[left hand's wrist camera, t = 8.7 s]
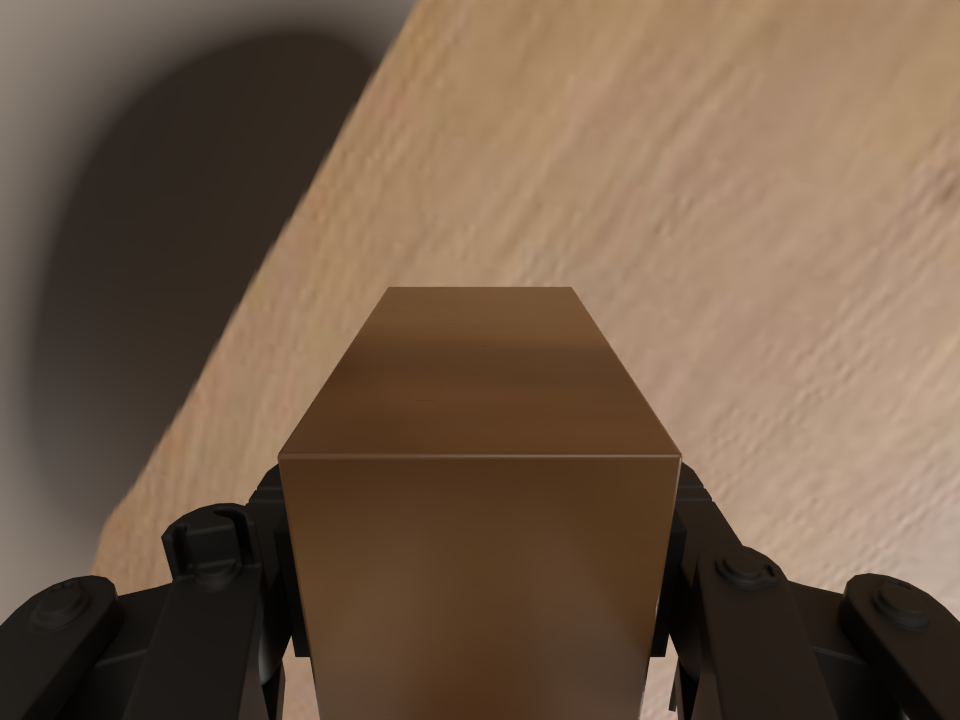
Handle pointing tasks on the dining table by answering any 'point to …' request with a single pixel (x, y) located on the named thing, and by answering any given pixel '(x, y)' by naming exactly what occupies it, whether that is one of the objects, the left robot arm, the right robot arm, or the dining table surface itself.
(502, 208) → the dining table surface
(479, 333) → the bar
